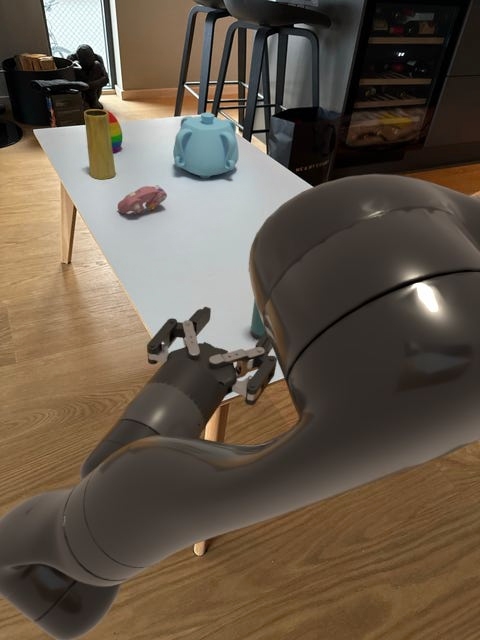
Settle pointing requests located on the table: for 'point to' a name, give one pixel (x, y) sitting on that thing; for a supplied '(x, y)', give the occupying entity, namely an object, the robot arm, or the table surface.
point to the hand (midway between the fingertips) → (237, 323)
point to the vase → (99, 144)
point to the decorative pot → (206, 145)
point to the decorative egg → (115, 132)
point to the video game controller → (142, 199)
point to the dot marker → (257, 323)
